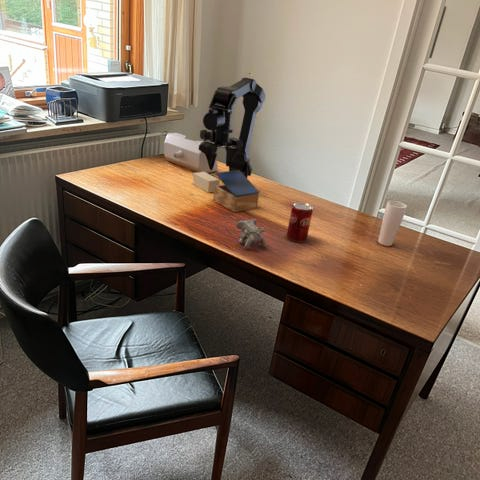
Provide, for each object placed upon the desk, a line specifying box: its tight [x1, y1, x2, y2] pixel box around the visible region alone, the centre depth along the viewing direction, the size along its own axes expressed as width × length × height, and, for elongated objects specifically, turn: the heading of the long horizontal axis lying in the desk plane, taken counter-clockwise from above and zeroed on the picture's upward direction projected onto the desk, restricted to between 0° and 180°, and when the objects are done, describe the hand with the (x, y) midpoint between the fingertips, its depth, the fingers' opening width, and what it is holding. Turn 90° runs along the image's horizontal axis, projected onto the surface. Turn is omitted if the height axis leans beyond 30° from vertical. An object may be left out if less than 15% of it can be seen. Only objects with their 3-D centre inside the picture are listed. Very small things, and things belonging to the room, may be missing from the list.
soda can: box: [286, 201, 314, 243], centre depth 165 cm, size 7×7×12 cm
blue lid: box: [215, 170, 260, 197], centre depth 185 cm, size 14×12×1 cm
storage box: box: [212, 184, 260, 213], centre depth 188 cm, size 14×12×6 cm
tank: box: [163, 132, 219, 174], centre depth 218 cm, size 25×16×12 cm, turn 52°
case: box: [192, 172, 220, 194], centre depth 200 cm, size 11×5×5 cm, turn 40°
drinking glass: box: [377, 200, 408, 247], centre depth 169 cm, size 7×7×15 cm
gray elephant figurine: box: [236, 218, 266, 250], centre depth 158 cm, size 9×12×8 cm
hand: (219, 168), depth 184 cm, fingers open, 9 cm apart
